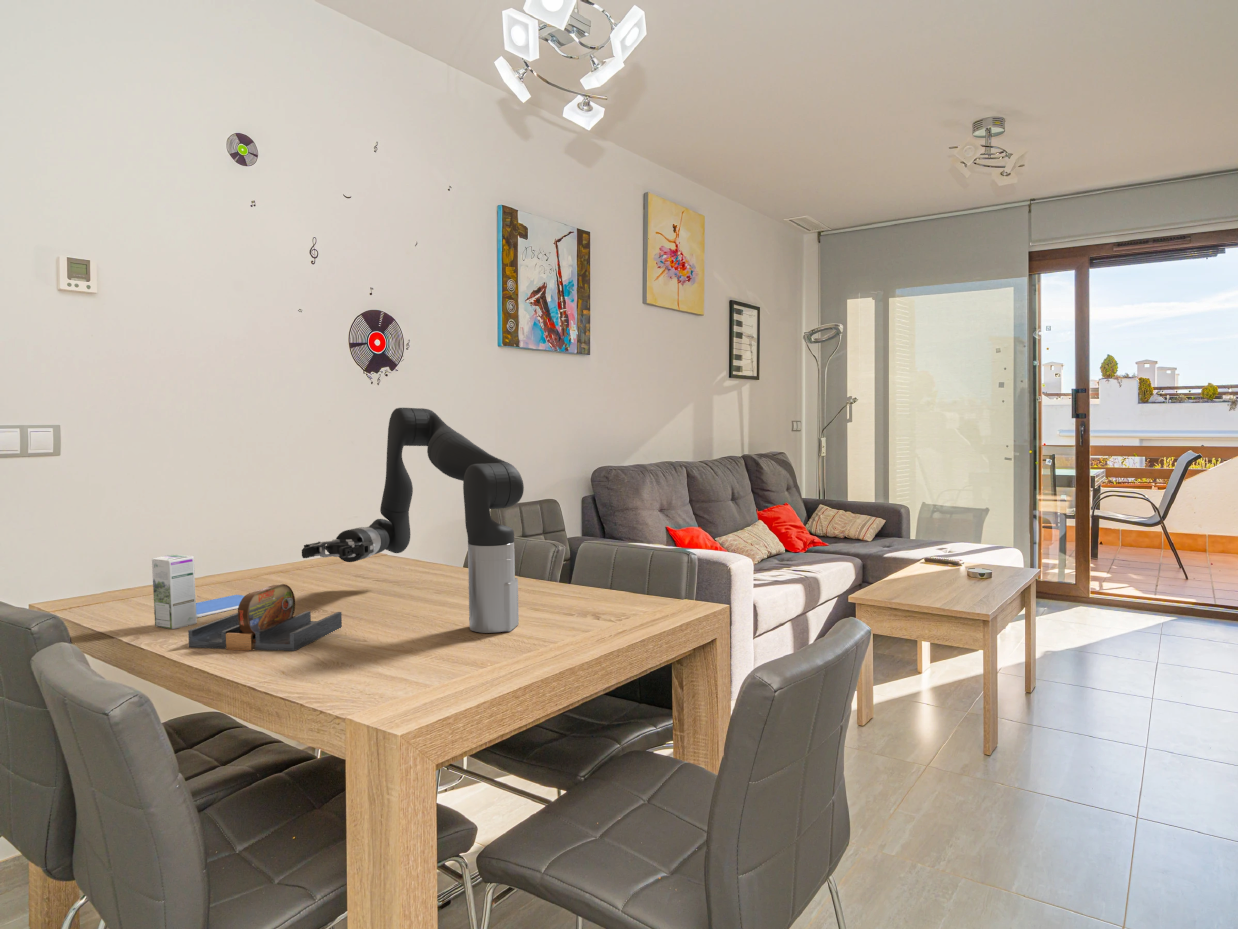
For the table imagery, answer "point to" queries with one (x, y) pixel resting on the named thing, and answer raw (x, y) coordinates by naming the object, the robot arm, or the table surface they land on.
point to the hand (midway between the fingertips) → (322, 553)
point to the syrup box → (174, 591)
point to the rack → (263, 633)
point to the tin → (265, 608)
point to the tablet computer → (218, 605)
